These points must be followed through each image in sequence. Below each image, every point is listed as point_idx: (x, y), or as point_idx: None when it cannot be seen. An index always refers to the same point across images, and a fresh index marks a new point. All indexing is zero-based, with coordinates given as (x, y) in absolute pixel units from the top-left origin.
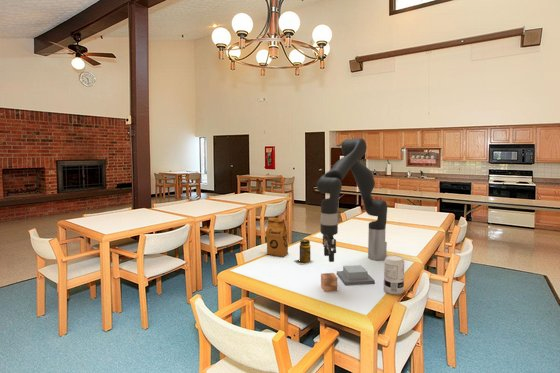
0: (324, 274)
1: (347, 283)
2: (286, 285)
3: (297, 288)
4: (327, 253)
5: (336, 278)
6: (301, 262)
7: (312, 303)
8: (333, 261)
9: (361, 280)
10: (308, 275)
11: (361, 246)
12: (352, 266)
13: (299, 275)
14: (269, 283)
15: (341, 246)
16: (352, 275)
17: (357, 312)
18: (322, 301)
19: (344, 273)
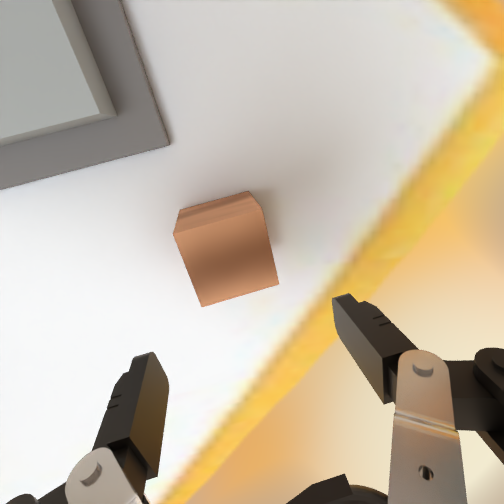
0: (214, 287)
1: (163, 129)
2: (218, 389)
3: (242, 351)
4: (153, 382)
5: (262, 213)
6: None
7: (370, 284)
8: (348, 296)
9: (102, 6)
10: (75, 338)
11: None
12: None
13: (91, 371)
14: (209, 436)
15: None
16: (94, 81)
17: (469, 103)
18: (357, 251)
19: (10, 142)
